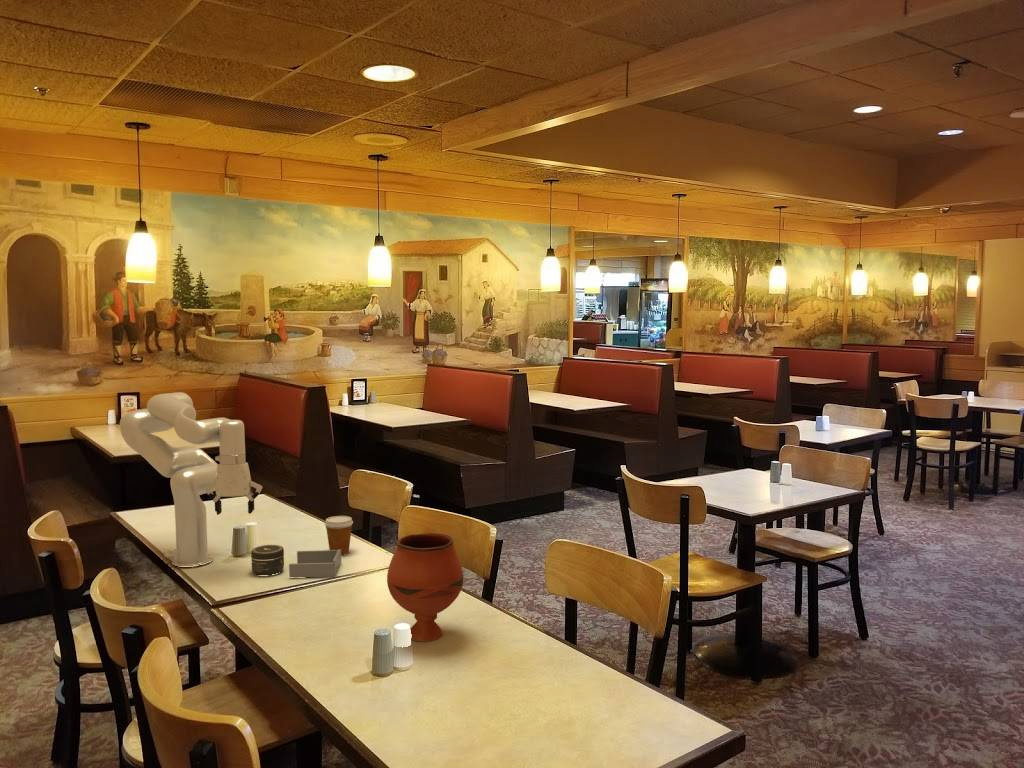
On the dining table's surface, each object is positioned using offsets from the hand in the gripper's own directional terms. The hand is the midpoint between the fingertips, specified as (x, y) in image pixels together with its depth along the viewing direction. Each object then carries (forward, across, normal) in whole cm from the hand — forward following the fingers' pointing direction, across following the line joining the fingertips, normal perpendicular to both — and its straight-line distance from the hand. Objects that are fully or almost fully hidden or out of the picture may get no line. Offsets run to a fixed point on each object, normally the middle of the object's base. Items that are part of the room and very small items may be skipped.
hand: (234, 513), depth 250 cm
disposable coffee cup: (+20, +30, +17) cm, 40 cm away
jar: (+20, +10, 0) cm, 22 cm away
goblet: (+20, +60, -54) cm, 84 cm away
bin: (+19, +25, -1) cm, 31 cm away
